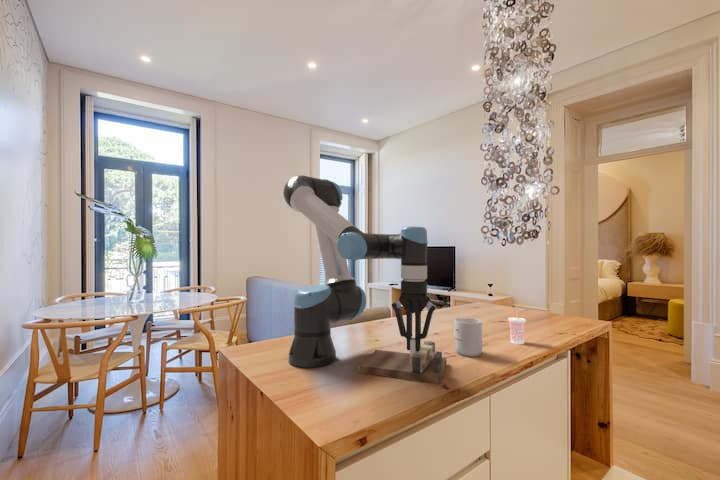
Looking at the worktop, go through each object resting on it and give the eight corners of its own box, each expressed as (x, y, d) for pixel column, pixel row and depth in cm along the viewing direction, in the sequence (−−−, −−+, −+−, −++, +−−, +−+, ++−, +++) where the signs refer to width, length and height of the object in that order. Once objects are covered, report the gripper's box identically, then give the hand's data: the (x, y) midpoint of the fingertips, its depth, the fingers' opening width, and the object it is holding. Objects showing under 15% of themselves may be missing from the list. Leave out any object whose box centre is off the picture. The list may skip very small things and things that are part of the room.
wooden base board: (359, 372, 96) (359, 351, 96) (375, 355, 111) (375, 337, 111) (440, 383, 88) (440, 360, 88) (446, 364, 103) (446, 344, 103)
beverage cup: (518, 339, 130) (517, 304, 131) (530, 344, 124) (529, 306, 125) (505, 340, 129) (504, 304, 129) (516, 345, 123) (515, 307, 123)
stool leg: (425, 354, 105) (425, 340, 105) (435, 356, 103) (435, 341, 104) (410, 371, 90) (410, 355, 90) (421, 373, 89) (421, 356, 89)
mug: (488, 355, 111) (487, 322, 111) (466, 358, 108) (465, 324, 108) (465, 345, 122) (465, 315, 123) (444, 348, 119) (444, 317, 119)
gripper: (438, 279, 97) (438, 360, 97) (395, 277, 102) (394, 355, 101) (434, 282, 90) (434, 369, 90) (388, 280, 95) (388, 363, 94)
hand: (413, 361), depth 96 cm, fingers closed
